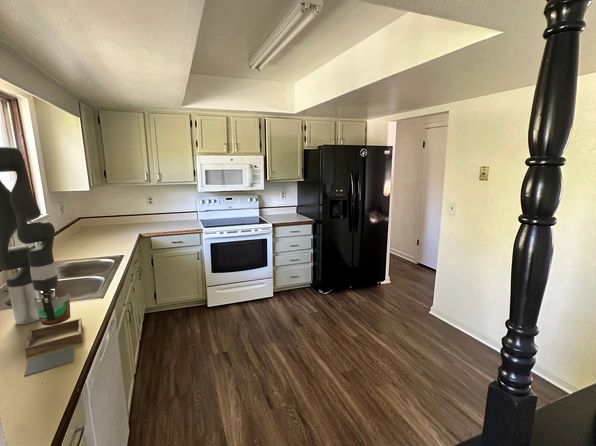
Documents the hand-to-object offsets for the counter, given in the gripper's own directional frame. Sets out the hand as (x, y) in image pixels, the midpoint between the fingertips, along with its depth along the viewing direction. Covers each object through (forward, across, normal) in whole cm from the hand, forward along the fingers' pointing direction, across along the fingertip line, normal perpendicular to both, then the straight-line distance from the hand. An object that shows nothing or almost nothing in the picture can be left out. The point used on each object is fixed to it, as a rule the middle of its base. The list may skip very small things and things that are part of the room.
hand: (52, 316), depth 122 cm
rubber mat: (+10, +16, -1) cm, 18 cm away
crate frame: (+10, 0, 0) cm, 10 cm away
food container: (+3, +1, 0) cm, 3 cm away
